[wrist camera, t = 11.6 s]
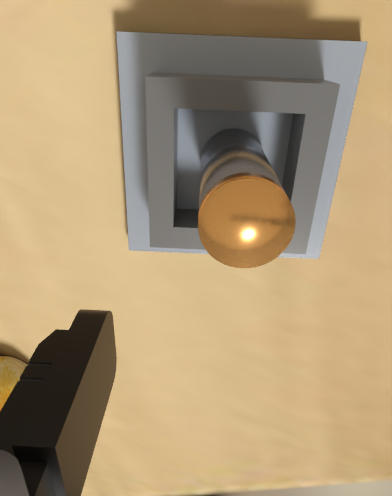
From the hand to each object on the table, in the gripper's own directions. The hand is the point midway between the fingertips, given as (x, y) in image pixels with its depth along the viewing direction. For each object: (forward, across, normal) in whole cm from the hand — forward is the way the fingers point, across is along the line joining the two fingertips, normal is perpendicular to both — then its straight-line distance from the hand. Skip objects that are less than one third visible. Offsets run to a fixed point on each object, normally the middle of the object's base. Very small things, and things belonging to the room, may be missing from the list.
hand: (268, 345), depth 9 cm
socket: (+18, 0, 0) cm, 18 cm away
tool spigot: (+17, 0, 0) cm, 17 cm away
